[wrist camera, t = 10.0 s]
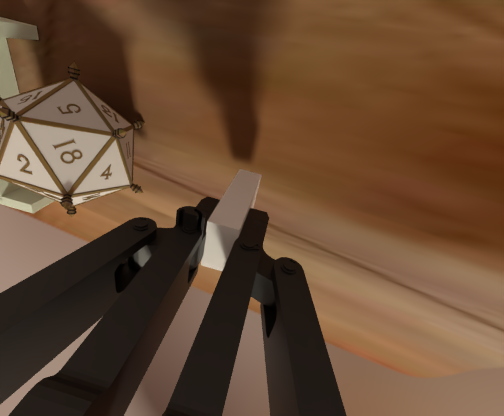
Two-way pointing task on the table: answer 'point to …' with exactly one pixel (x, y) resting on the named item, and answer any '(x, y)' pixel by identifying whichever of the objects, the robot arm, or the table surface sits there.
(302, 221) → the table surface
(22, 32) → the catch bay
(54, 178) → the game die
